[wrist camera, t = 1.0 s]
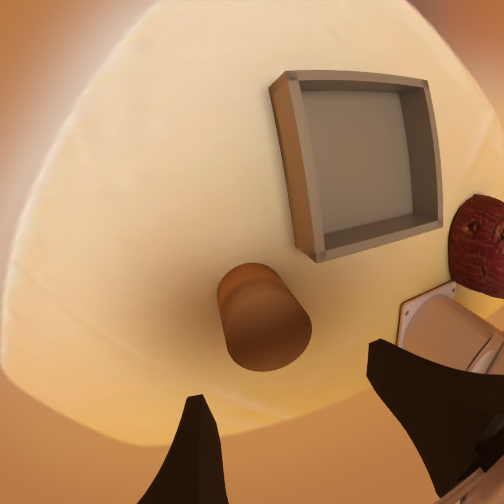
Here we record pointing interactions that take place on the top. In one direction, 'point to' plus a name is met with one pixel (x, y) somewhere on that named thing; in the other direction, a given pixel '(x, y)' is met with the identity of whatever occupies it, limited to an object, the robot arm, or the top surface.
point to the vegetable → (479, 246)
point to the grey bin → (357, 159)
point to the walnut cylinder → (261, 318)
